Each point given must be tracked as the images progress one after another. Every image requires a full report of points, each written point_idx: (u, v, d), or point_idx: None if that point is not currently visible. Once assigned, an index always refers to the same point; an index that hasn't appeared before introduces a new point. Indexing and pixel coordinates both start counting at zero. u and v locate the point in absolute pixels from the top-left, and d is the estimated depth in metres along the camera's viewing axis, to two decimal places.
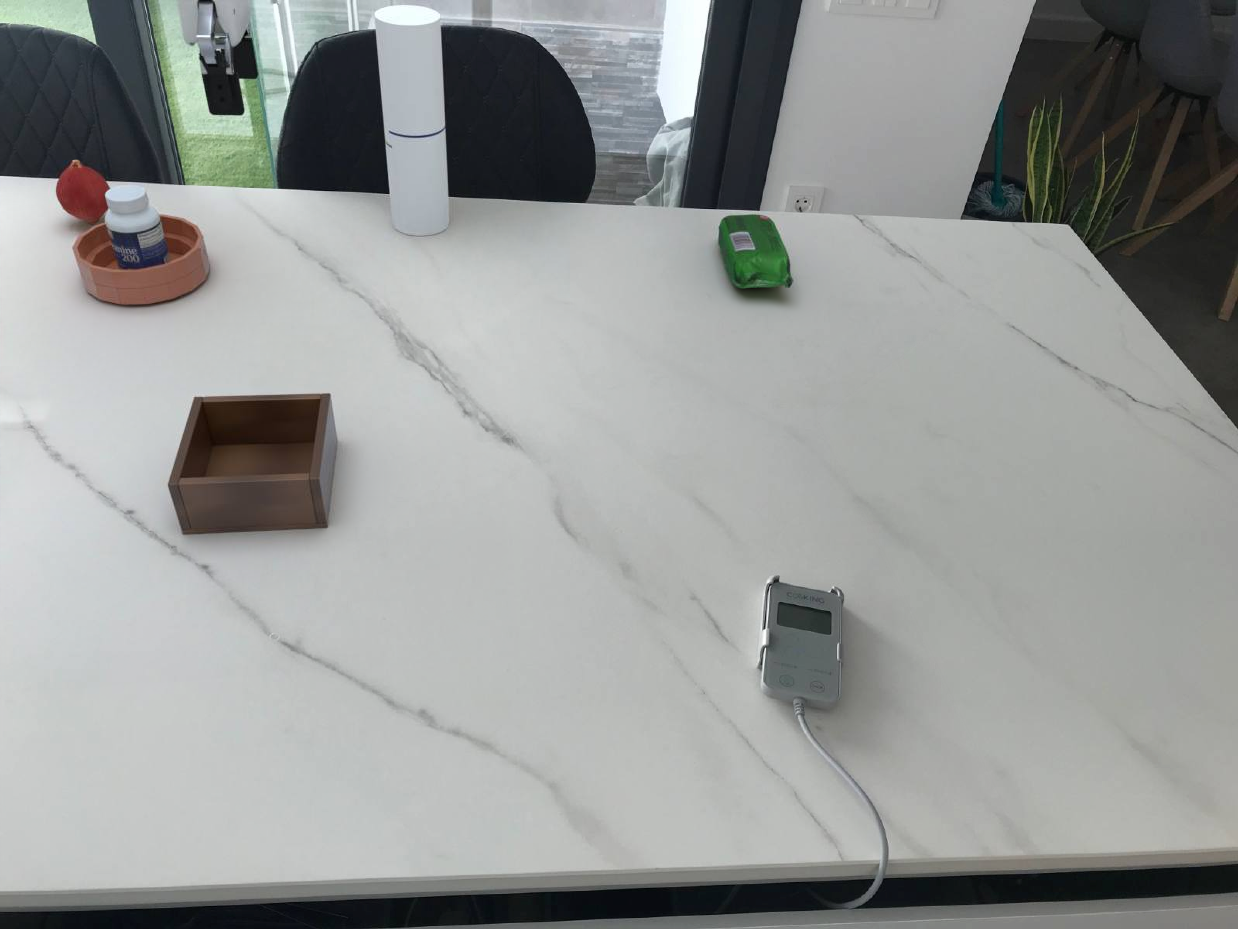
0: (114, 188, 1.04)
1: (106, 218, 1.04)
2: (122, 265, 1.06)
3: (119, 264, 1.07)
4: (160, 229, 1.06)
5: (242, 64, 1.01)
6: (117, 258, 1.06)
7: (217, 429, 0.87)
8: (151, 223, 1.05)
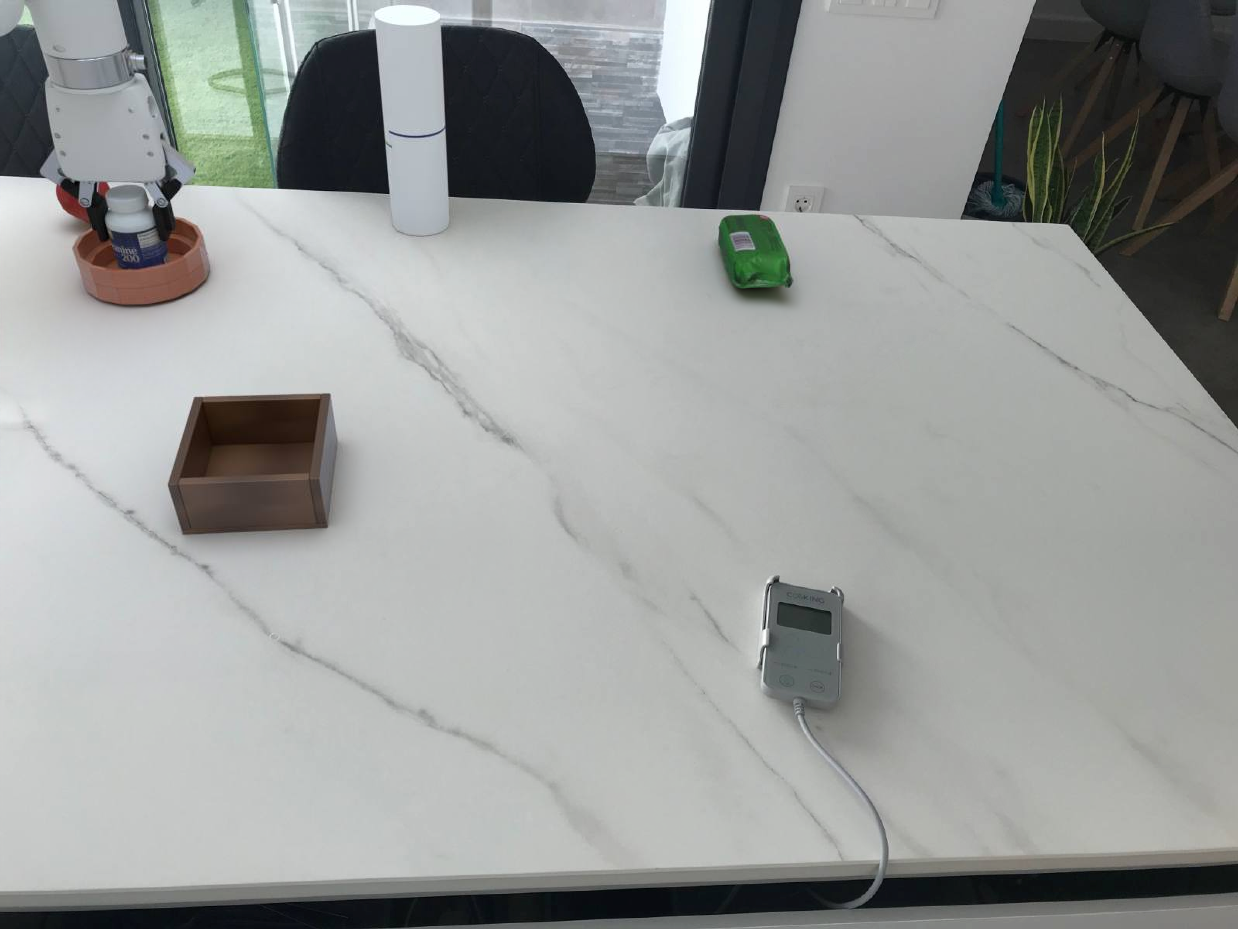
0: (114, 188, 1.04)
1: (106, 218, 1.04)
2: (122, 265, 1.06)
3: (119, 264, 1.07)
4: None
5: None
6: (117, 258, 1.06)
7: (217, 429, 0.87)
8: (151, 223, 1.05)
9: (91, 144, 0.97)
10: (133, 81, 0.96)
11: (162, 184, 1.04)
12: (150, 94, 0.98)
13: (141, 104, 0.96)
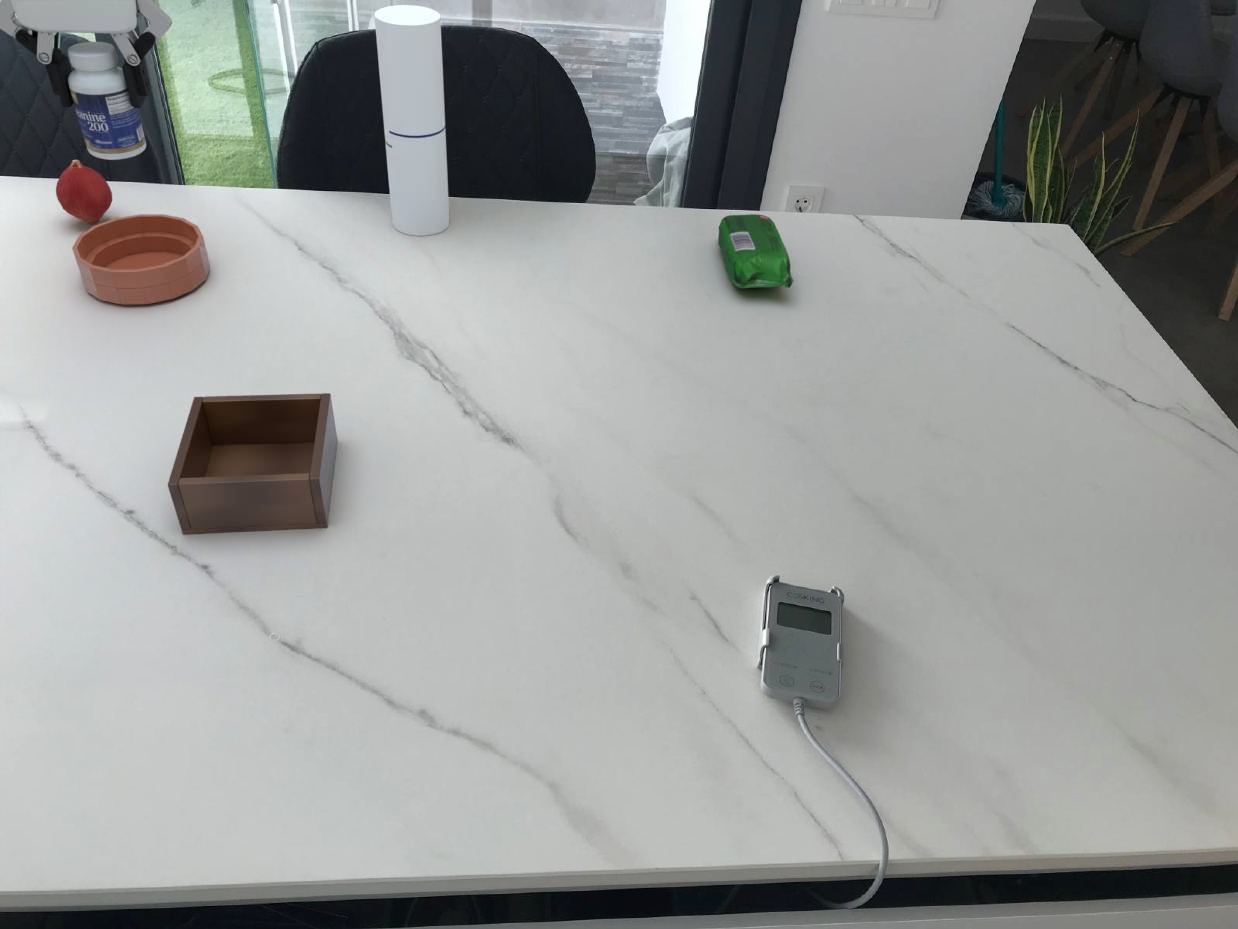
0: (78, 44, 0.91)
1: (69, 78, 0.91)
2: (89, 136, 0.93)
3: (85, 135, 0.94)
4: None
5: None
6: (83, 128, 0.93)
7: (217, 429, 0.87)
8: (121, 85, 0.92)
9: None
10: None
11: (133, 40, 0.91)
12: None
13: None
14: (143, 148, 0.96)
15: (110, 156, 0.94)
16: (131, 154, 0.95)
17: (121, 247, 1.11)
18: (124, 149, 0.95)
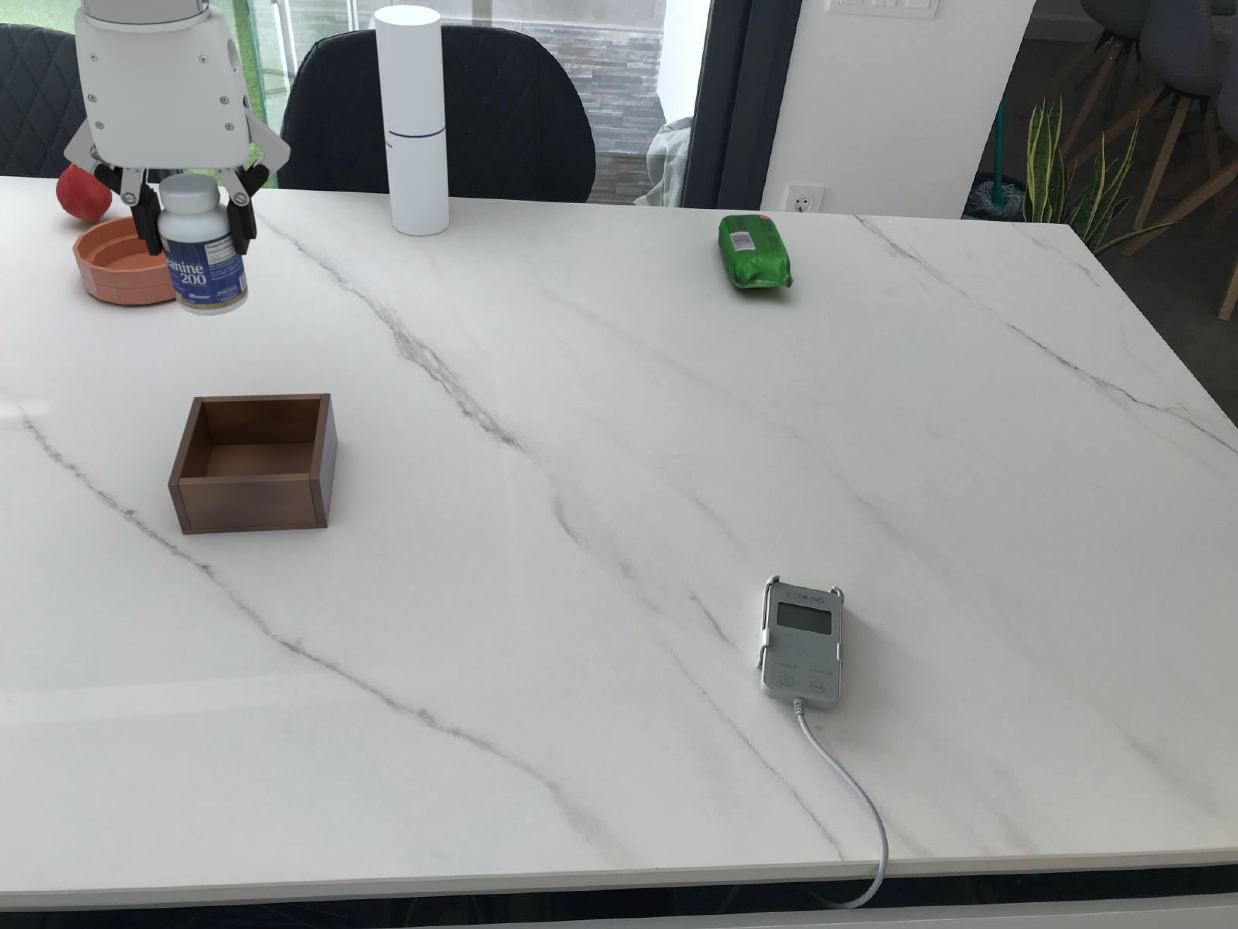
0: (171, 178, 0.71)
1: (159, 221, 0.71)
2: (181, 289, 0.74)
3: (176, 287, 0.74)
4: None
5: None
6: (173, 279, 0.74)
7: (217, 429, 0.87)
8: (224, 228, 0.72)
9: (142, 111, 0.65)
10: (207, 15, 0.63)
11: (240, 172, 0.72)
12: (230, 37, 0.65)
13: (218, 50, 0.64)
14: (245, 299, 0.77)
15: (206, 312, 0.75)
16: (232, 308, 0.76)
17: (121, 247, 1.11)
18: (224, 303, 0.75)
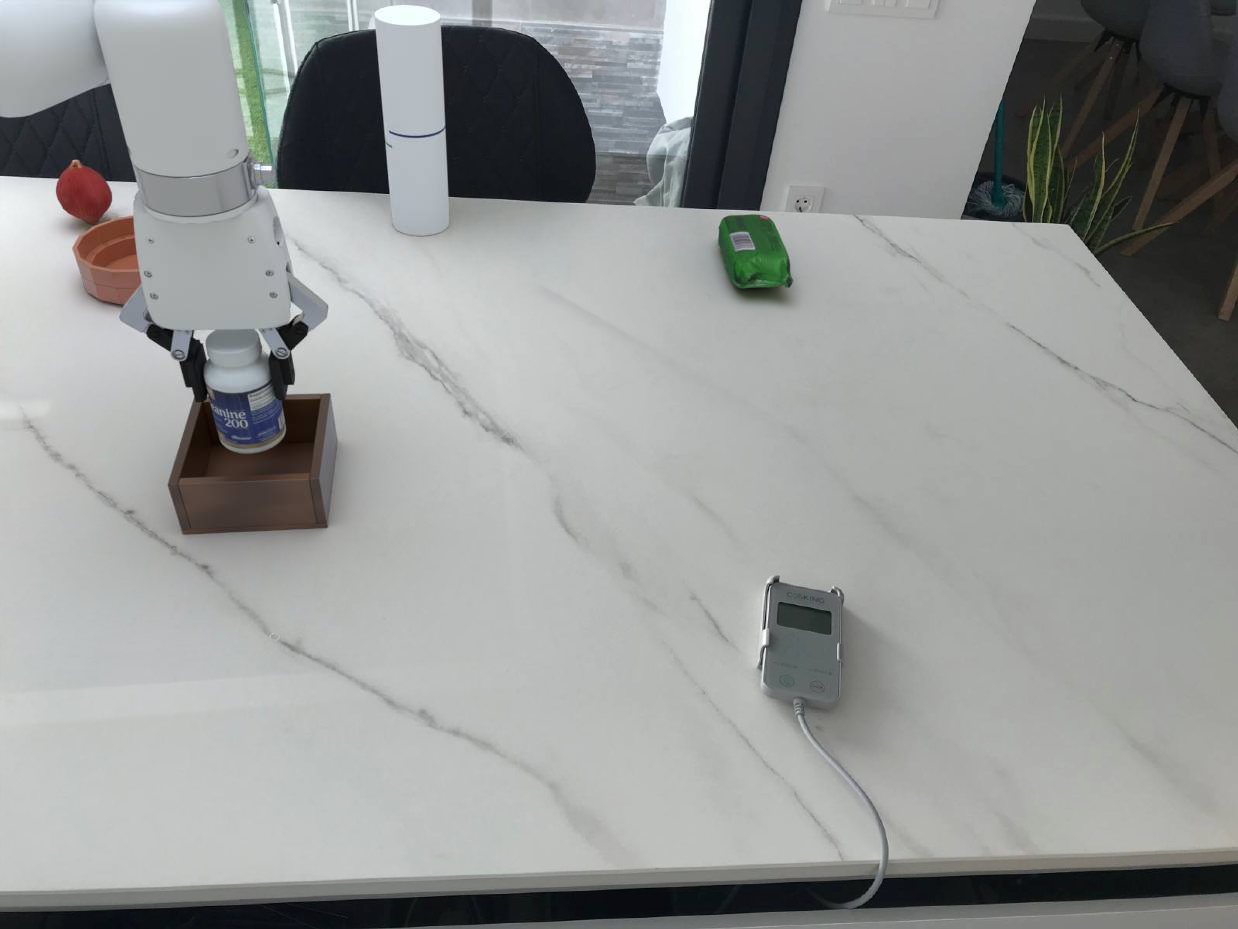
0: (216, 332, 0.76)
1: (206, 373, 0.76)
2: (224, 431, 0.79)
3: (219, 429, 0.79)
4: None
5: None
6: (217, 422, 0.79)
7: None
8: (266, 378, 0.77)
9: (194, 285, 0.70)
10: (255, 199, 0.68)
11: (281, 326, 0.77)
12: (275, 214, 0.70)
13: (265, 231, 0.69)
14: (283, 435, 0.82)
15: (247, 451, 0.80)
16: (271, 445, 0.81)
17: (121, 247, 1.11)
18: (264, 443, 0.80)
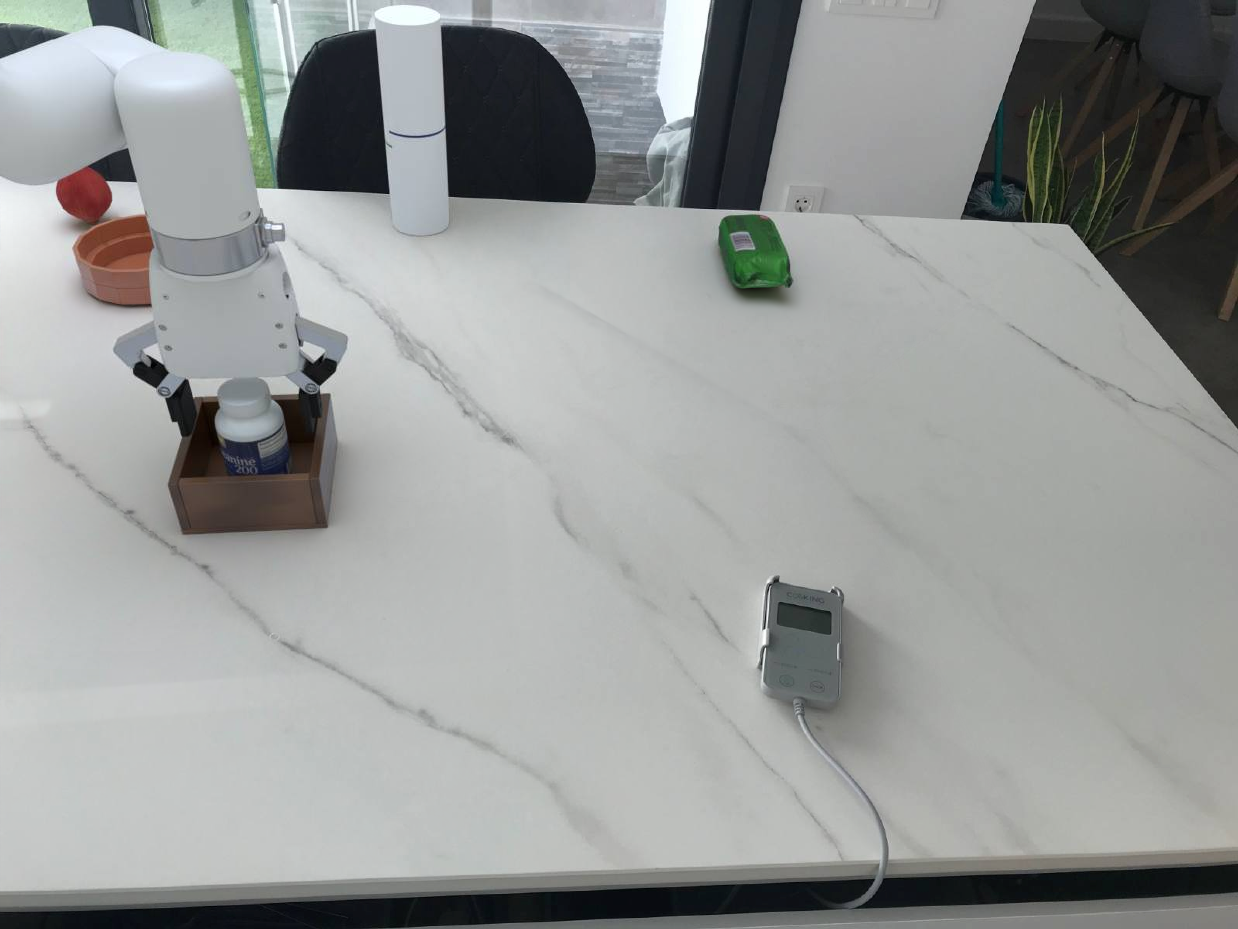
0: (227, 383, 0.80)
1: (217, 422, 0.80)
2: None
3: (230, 474, 0.83)
4: (284, 430, 0.82)
5: None
6: (228, 468, 0.82)
7: None
8: (275, 427, 0.80)
9: (207, 337, 0.73)
10: (265, 256, 0.71)
11: (310, 362, 0.79)
12: (285, 269, 0.73)
13: (275, 286, 0.72)
14: None
15: None
16: None
17: (121, 247, 1.11)
18: None
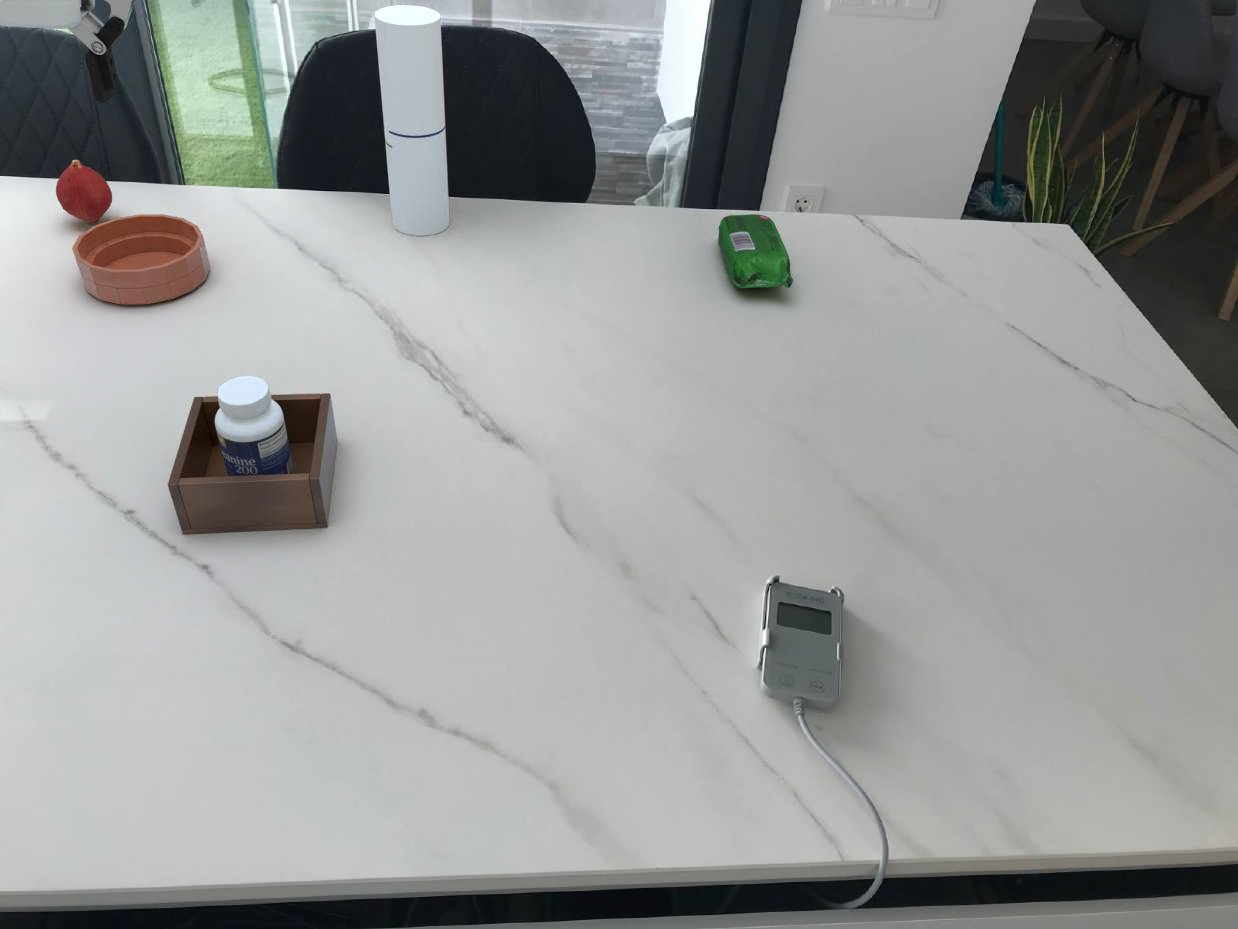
0: (227, 383, 0.80)
1: (217, 422, 0.80)
2: None
3: (230, 474, 0.83)
4: (284, 430, 0.82)
5: None
6: (228, 468, 0.82)
7: None
8: (275, 427, 0.80)
9: None
10: None
11: (100, 25, 0.80)
12: None
13: None
14: None
15: None
16: None
17: (121, 247, 1.11)
18: None
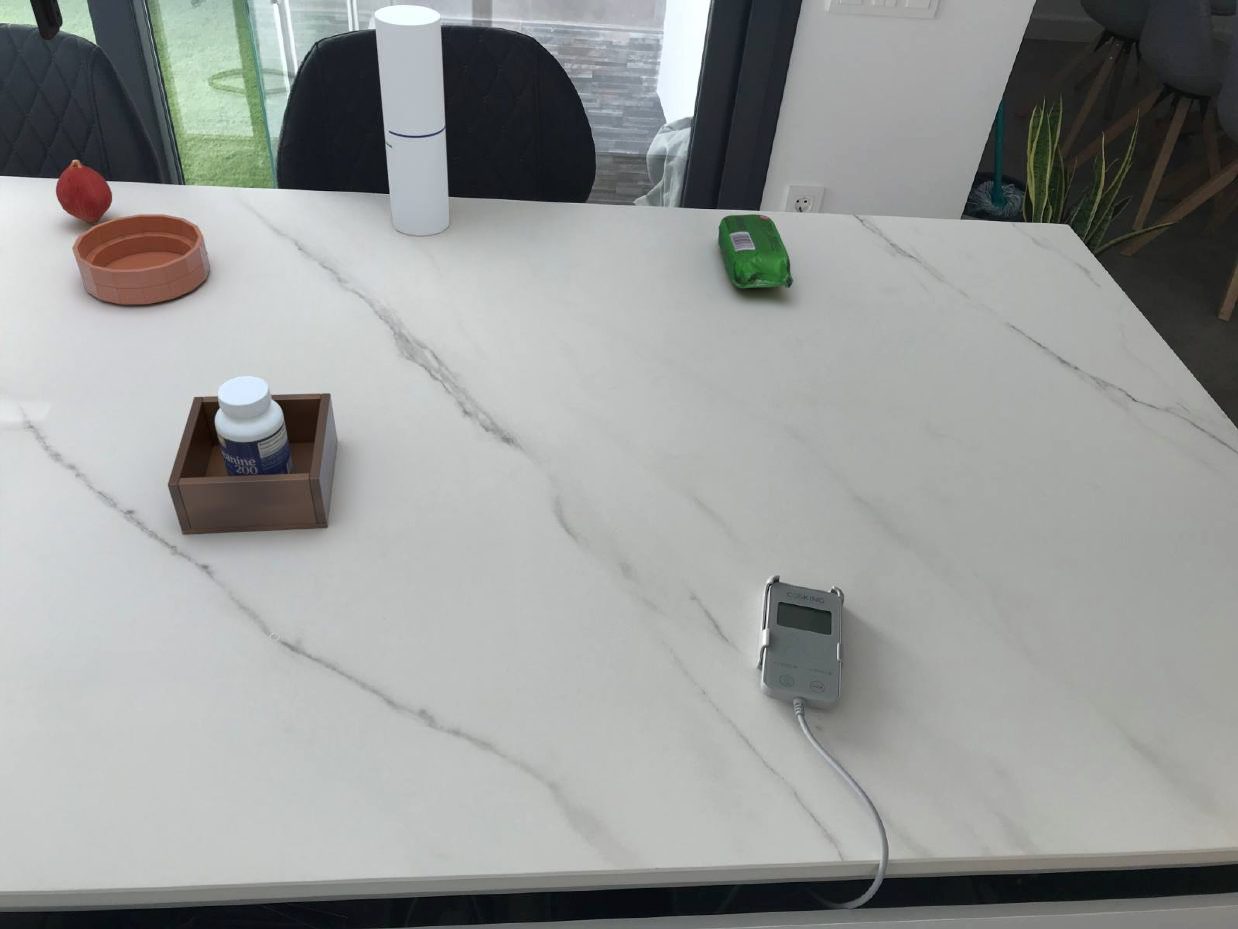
0: (227, 383, 0.80)
1: (217, 422, 0.80)
2: None
3: (230, 474, 0.83)
4: (284, 430, 0.82)
5: None
6: (228, 468, 0.82)
7: None
8: (275, 427, 0.80)
9: None
10: None
11: None
12: None
13: None
14: None
15: None
16: None
17: (121, 247, 1.11)
18: None
